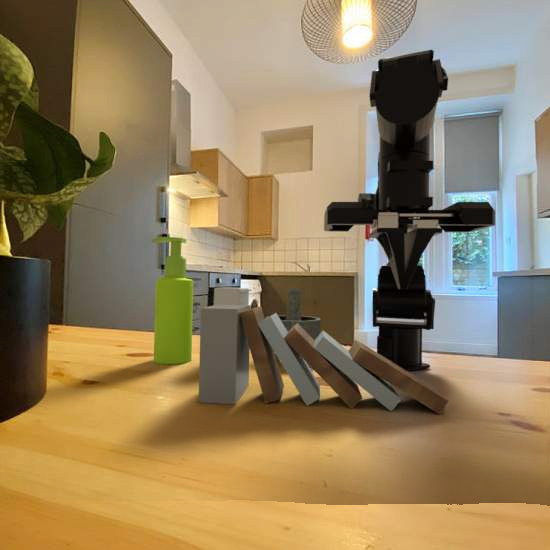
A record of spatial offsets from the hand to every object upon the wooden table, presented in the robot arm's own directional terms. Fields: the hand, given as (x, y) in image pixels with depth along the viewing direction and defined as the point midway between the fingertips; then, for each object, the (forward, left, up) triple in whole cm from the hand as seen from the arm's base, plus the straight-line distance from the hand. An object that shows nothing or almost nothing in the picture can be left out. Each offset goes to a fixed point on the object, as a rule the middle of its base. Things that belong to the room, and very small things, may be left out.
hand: (402, 289), depth 42 cm
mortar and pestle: (+3, -22, -13) cm, 26 cm away
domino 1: (+15, -5, -12) cm, 20 cm away
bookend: (+19, -8, -12) cm, 24 cm away
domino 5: (0, +5, -12) cm, 13 cm away
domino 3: (+7, 0, -12) cm, 14 cm away
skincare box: (+14, -23, -13) cm, 30 cm away
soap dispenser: (+23, -27, -13) cm, 38 cm away
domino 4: (+4, +2, -12) cm, 13 cm away
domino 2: (+11, -2, -12) cm, 16 cm away
